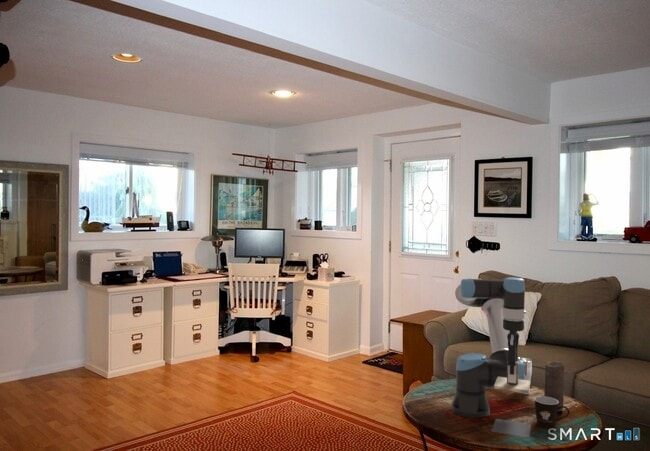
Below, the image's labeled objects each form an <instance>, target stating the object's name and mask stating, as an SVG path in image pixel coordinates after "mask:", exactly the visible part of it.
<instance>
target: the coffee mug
mask: <svg viewBox="0 0 650 451" xmlns="http://www.w3.org/2000/svg"><path fill="white" fill-rule="evenodd" d="M533 401H534V407H535V408H534V409H535V416H536V417H535V419H536V425H538V427H540V428H544V429H554V428H555V427H556V423H557V422H558V421H561V420H563V419H565V418H566V417H568V416H569V415H570V409H569V407H567V406H565V405H563V406H560V407H558V404H559V401H558V400H556V399H554V398H551V397H545V396H543V395H542V396H541V395H540V396H539V395H538V396H536V397H534V399H533ZM560 408H563V409H565V410H567V414H565V415H564V416H561V417H559V418H557V417H558V416H557V415H558V412H559V411H558V410H559V409H560Z"/></svg>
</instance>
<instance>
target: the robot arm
mask: <svg viewBox="0 0 650 451" xmlns="http://www.w3.org/2000/svg"><path fill="white" fill-rule="evenodd" d="M525 281H526V280H525V279H523V277H522V278H521V277H513V276H512V277H511V276H510V277H505V278H503V279H484V278H483V279H482V278H481V279H480V278H463V279H461V280H460V284H458V285H457V287H456V289H455V292H454V293H455V298H456V300H457V301H458V302H459V303H460V304H463V305H464V306H467V307H473V308H482V311H483V312H484V314H486V319H487V326H488V333H489V334H488V335H489V341H490V349H491V354H489V356H488V357H487V356H486V354H484V353H479V352H469V353H464V354H462V355H459V356H458V357H457V359H456V365H455V366H456V367H455V369H456V378H455V379H456V381H455V383H456V386H455V387H456V388H455V394H454V397H453V399H452V403H451V412H452V413H454V414H455V415H457V416H460V417H465V418H470V419H471V418H472V419H474V418H475V419H479V418H480V419H481V418H485V417H487V416H490V413H491V410H490V409H491V408H490V405H489V400H488V398H487V395H486V391H487V390H486V388H487V389H489V388H490V389H494V385H495V382H496V380H497V377H505V378H507V365H508V382H509V383H516V362H518V363H519V365H518V379H520V380H524V372H525V365H524V361H523V360H521V359H520V360H519V359H518V358H519V355H518V352H519V350H518V348H519V343H520V342H519V339H520V334H519V332H523V331H524V330H525V321H524V320H525V314H527V311H526V310H525V303H526V302H525V297H526V296H525V294H526V293H525V292H526V286H525V285H526V283H525ZM507 361H508V364H507Z"/></svg>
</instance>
